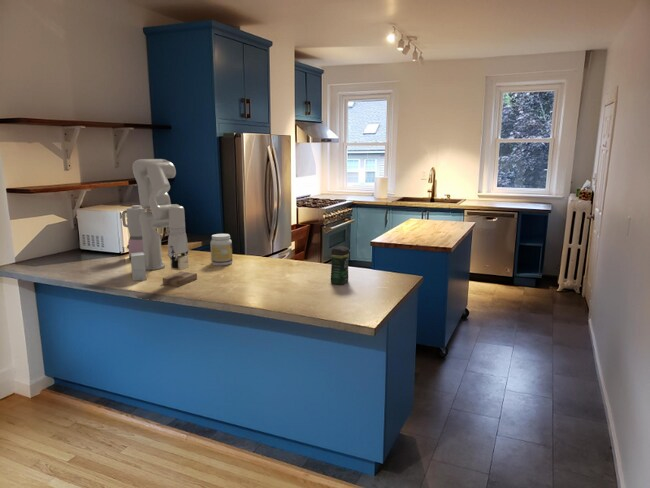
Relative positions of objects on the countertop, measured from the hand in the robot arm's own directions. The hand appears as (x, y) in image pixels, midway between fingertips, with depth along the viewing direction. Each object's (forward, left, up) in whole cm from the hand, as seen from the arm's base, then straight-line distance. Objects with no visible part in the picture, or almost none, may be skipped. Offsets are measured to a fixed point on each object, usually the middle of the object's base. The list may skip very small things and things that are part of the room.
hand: (179, 266), depth 239 cm
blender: (-57, +33, -8) cm, 66 cm away
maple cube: (0, 0, -1) cm, 1 cm away
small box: (-23, -3, -8) cm, 25 cm away
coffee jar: (+75, +30, -8) cm, 81 cm away
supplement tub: (-2, +41, -8) cm, 41 cm away
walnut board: (0, 0, -8) cm, 8 cm away
